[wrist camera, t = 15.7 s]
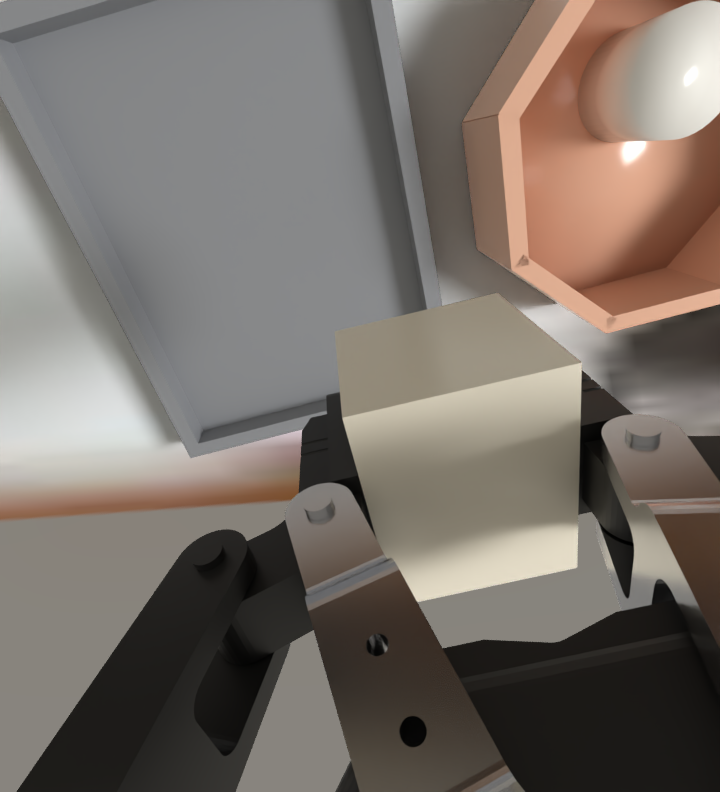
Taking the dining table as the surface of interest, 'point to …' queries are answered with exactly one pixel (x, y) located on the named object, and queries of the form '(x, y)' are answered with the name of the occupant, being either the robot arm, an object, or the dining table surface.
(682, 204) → the bowl
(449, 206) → the dining table surface
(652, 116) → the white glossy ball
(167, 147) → the parts tray
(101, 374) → the dining table surface
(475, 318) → the sandy stone
